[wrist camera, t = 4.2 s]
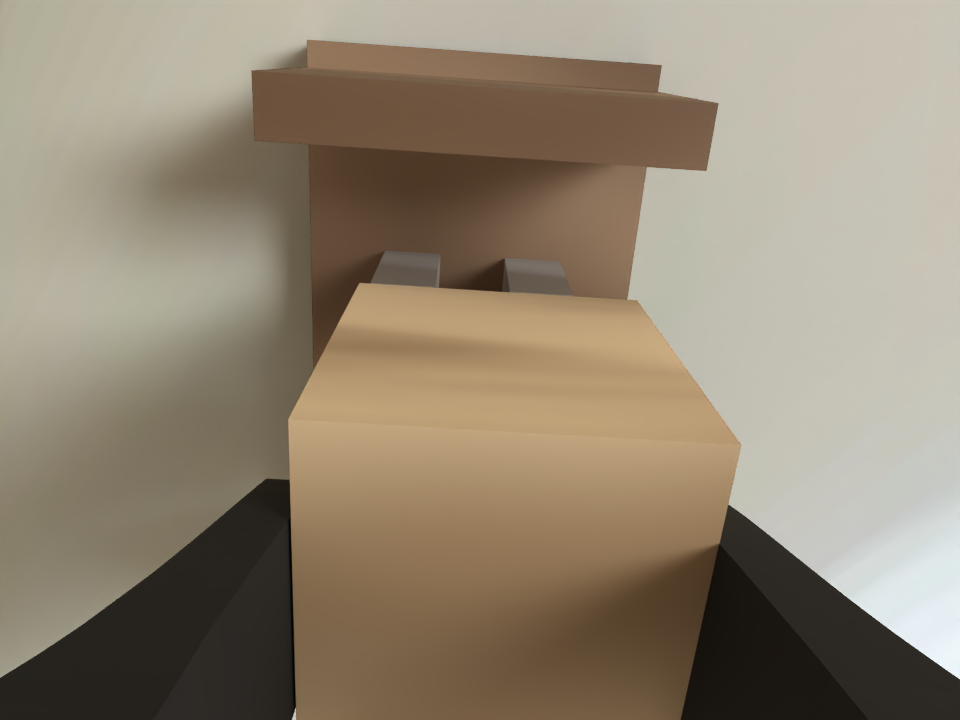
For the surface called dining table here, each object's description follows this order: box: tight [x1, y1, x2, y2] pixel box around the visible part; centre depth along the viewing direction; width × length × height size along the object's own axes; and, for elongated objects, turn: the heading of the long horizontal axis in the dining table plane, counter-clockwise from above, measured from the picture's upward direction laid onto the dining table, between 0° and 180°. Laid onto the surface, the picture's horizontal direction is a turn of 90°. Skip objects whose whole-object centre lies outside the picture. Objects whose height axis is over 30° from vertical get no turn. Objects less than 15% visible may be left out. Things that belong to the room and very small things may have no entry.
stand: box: [252, 40, 718, 369], centre depth 15 cm, size 12×7×5 cm, turn 176°
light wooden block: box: [288, 283, 741, 720], centre depth 10 cm, size 4×4×5 cm
